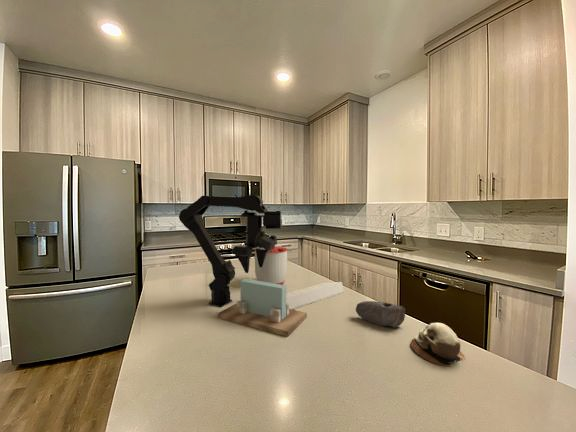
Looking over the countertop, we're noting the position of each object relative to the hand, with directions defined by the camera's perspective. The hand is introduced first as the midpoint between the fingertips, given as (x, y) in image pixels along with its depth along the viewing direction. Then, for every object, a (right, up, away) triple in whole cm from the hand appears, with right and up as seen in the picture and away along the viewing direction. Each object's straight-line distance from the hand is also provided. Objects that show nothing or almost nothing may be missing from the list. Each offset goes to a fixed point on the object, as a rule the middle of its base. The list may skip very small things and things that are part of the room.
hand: (254, 270), depth 92 cm
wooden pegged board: (+4, -13, -11) cm, 18 cm away
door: (+4, -12, -11) cm, 17 cm away
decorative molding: (+20, -14, +7) cm, 25 cm away
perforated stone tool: (+42, -14, -14) cm, 46 cm away
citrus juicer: (+4, -12, +24) cm, 27 cm away
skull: (+51, -15, -29) cm, 61 cm away
